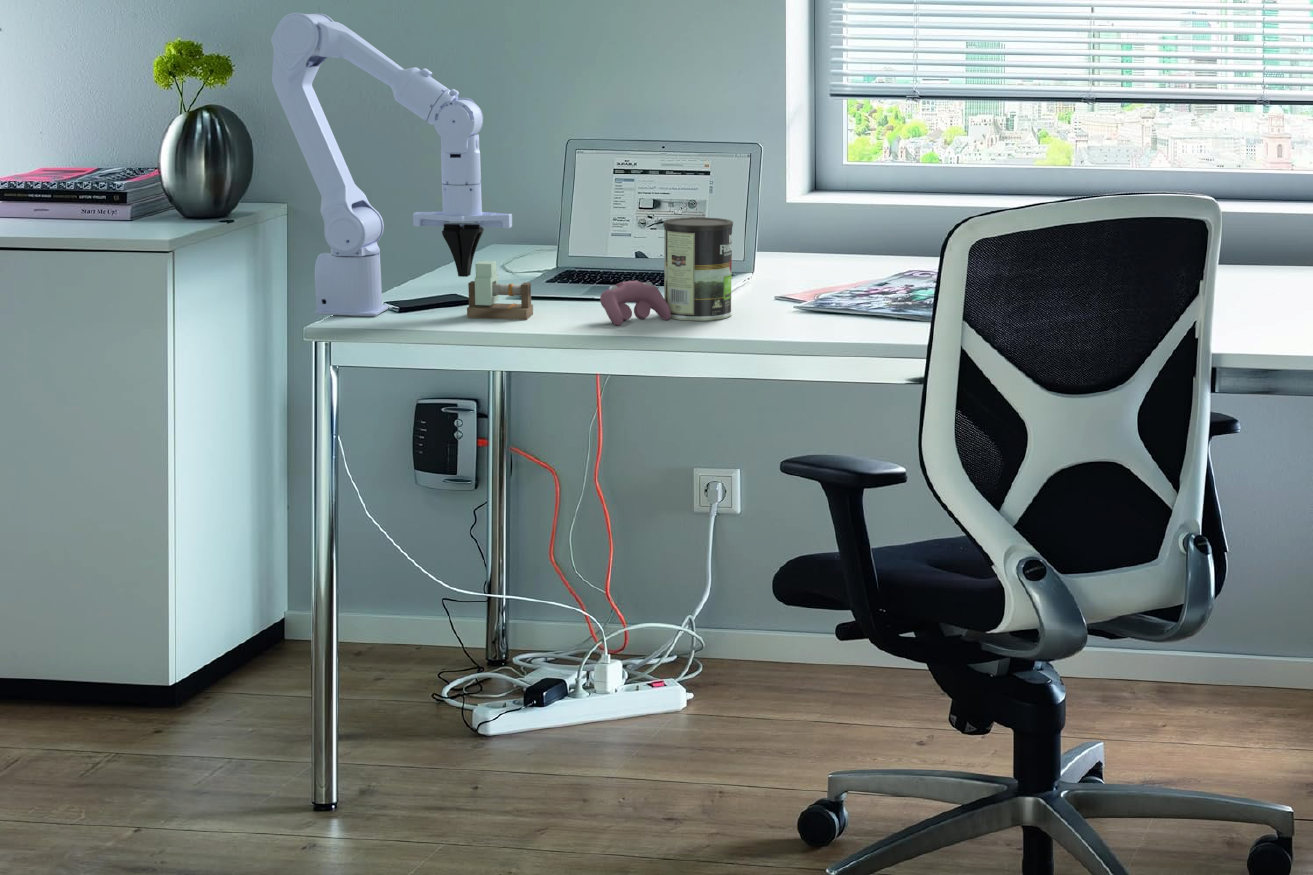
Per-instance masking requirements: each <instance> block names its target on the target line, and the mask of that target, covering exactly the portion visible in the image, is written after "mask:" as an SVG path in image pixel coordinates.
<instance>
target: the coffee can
mask: <svg viewBox="0 0 1313 875" xmlns="http://www.w3.org/2000/svg"><path fill="white" fill-rule="evenodd" d="M662 224H663V225H662V226H663V227H664V228H663V229H664V237H663V238H664V240H663V241H664V243H663V245H664V248H663V250H664V254H663V258H664V266H663V267H664V273H663V275H664V277H663V279H664V284H663V285H664V287H663V289H664V291H663V292H664V297H663V298H664V299H665V301H666V302H667V304H668V305H669V307H670V310H671V317H670V319H672V320H677V321H686V322H687V321H688V322H689V321H690V322H709V321H710V322H711V321H719V320H725V319H729V318H730V317H732V314H733V313H732V269H733V268H732V264H733V263H732V261H733V260H732V259H733V258H732V257H733V255H732V254H733V253H732V252H733V227H734V221H733V220H731V219H726V218H721V217H720V218H718V217H702V216H701V217H699V216H698V217H695V216H694V217H679V218H677V217H676V218H670V219H666V220H663V222H662Z"/></svg>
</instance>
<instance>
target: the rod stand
mask: <svg viewBox="0 0 1313 875" xmlns="http://www.w3.org/2000/svg"><path fill="white" fill-rule="evenodd" d="M467 285H468V307H466V318H467V319H487V320H489V319H491V320H492V319H493V320H521V321H522V320H523V321H524V320H526V321H527V320H528V319H529V318H530V317H532V316H533V315H534V304H533V303H532V283H531V282H527V281H526V282H523V283H522V284H514V283H508V284H507V283H506V284H502V283H498V284H492V291H493V295H498V296H509V297H514V296H520V297H521V298H520V299H521V303H497V302H495V303H494V304H492V305H475V280H471V281H470V282H468V284H467Z"/></svg>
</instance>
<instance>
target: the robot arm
mask: <svg viewBox="0 0 1313 875" xmlns="http://www.w3.org/2000/svg"><path fill="white" fill-rule="evenodd" d="M270 41H271V44H272V45H271V46H272V47H273V48H272V49H273V52H272V53H273V54H272V55H273V56H272V72H271V73H272V74H271V84H272V86H273V89H274V91H275V94H276V95H277V98H278V101H279V103H280V105H281V107H282V110H283V112H284V114H285V116H286V119H287V121H288V123H289V126H290V128H291V131H292V132H293V133H292V134H293V135H294V136H295V140H296V141H297V144H298V146H299V149H300V151H301V153H302V155H303V157H304V160H305V162H306V164H307V165H306V166H308V169H309V171H310V174H311V176H312V179H313V180H314V182H315V183H314V184H316V187H317V190H318V192H319V194H320V196H321V197H320V198H321V201H320V208H319V209H320V210H319V211H320V214H321V217H322V219H323V223H324V224H323V225H324V230H323V231H324V232H323V233H324V238H325V241H326V244H328V246H329V247H330V252H321V253H319V254H318V255H317V258H316V260H315V265H314V285H315V286H314V287H315V291H314V292H315V305H316V306H315V307H316V310H315V311H314V314H315V315H323V316H324V315H325V316H327V315H328V316H331V315H332V316H355V317H357V316H359V317H364V316H365V317H376V316H378V315H380V314H381V313H383V312H385V311H387V310H388V305H387V304H388V303H383V295H382V294H383V293H382V292H383V290H382V273H381V272H382V269H381V267H382V266H381V249H380V247H379V245H378V242H379V241H380V239H381V238H382V237H383V234H384V230H385V223H384V219H383V217H382V215H381V213H380V212H379V211H378V210H376V209H375V208H374V207H373V205H372V204H371V203H370V202H369V200H368V198H367V196H366V194H365V193H364V191H363V190H361V188H359V187H358V186H357V185H356V184H355V181H354V179H353V176H352V174H351V172H350V170H349V167H348V165H347V164H346V161H345V160H346V159H344V158H345V157H344V156H343V154H342V151H341V149H340V147H339V145H338V142H337V140H336V138H335V136H334V133H333V131H332V129H331V128H332V127H331V126H330V124H329V121H328V119H327V117H326V114H325V112H324V109H323V107H322V105H321V102H320V101H319V98H318V96H317V94H316V91H315V89H314V87H313V82H314V79H315V77H316V75H317V74H318V71H319V69H320V67H321V65H322V64H323V63H324V62H325V61H326V59H328V58H335V59H336V58H337V59H345V60H346V61H348V62H349V63H350V64H353V65H354V66H356V67H358V68H359V69H361V70H363V72H365V73H367V74H369V75H371V76H372V77H374V79H377V80H378V81H380V82H382V83H384V84H385V85H387V86H388V87H390V88H391V91H392V94H393V98H394V101H395V102H397V103H398V104H399V105H401V106H403V107H404V108H406V109H407V110H409V111H410V112H412V113H413V114H414V115H416V116H418V117H419V118H420V119H422V120H423V121H425V122H426V123H428V124H429V125H432V126H434V130H435V131H436V133H437V134H438V136H439V137H440V149H441V150H440V166H441V167H440V168H441V170H440V171H441V172H440V173H441V194H442V196H441V199H442V203H441V204H442V211H416V212H413V213H412V220H413V221H412V224H413V225H412V226H413V227H417V228H419V227H443V230H442V231H441V234H442V237H443V239H444V240H445V243H446V244H447V246H448V248H449V250H450V252H451V254H452V257H453V260H454V264H455V267H456V272H457V277H459V278H460V277H461V278H465V277H466V278H467V277H469V276H471V274H472V265H473V261H474V256H475V253H476V250H477V248H478V244H479V241H480V239H481V237H482V235H483V233H484V229H485V228H502V229H510V228H511V229H512V227H513V213H500V212H487V211H483V205H482V204H483V203H482V200H483V199H482V174H481V172H482V169H481V166H482V165H481V151H480V134H479V132H480V131H481V130H482V127H483V125H484V114H483V112H482V109H481V107H479V105H478V104H476V103H475V101H474V100H473V99H472V98H469V97H459V94H460V92H459V91H458V90H456V89H455V88H451V89H449V88H448V87H446V86H445V85H444V84H442V83H440V82H439V81H437V80H436V79H435V78H433V77H432V75H433V72H432V71H430V70H429V69H428V68H422V69H420V68H419V67H416V66H415V67H410V68H403V67H402V66H401V65H399V64H397V63H396V62H395V61H394V60H392V59H391V58H389V57H388V56H387V55H385V54H384V53H383V52H382V51H380V50H379V49H378V48H376V47H375V46H374V45H372V44H371V43H369V42H368V41H367V40H365V39H364V38H363V37H362V36H360V35H358V33H356V32H354V31H353V30H351V29H350V28H348V26H347V25H344V24H342V23H341V22H338V21H334V20H333V19H332V18H331V17H330V16H329V15H327V14H326V13H325V14H324V13H322V12H321V13H319V12H313V13H301V12H291V13H288V14H286V15H284V16H282V18H281V19H280V20H279V22H278V23H277V25H276V28H275V30H274V32H273V34H272V35H271V38H270Z"/></svg>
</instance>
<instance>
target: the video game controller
mask: <svg viewBox="0 0 1313 875" xmlns="http://www.w3.org/2000/svg"><path fill="white" fill-rule="evenodd" d="M660 291H661V290H660V289H659V288H658V287H657V286H654V284H653V283H652V281H647V282H642V281H639V280H628V281H622V282H621V281H620V282H619V283H616V284H613V285H610V286H609V287H608V288H606V289H605V290H604V291H603V292H602V293H601V294H600V298H599V301H600V305H601V307H603V309H604V310H605V312H606V315H607V317H608V318H609V320H610V321H611V323H613V325H615V326H616V327H621V326H622V325H623V322H626V321H628V320H630V319H631V318H632V316H633V313H634V316H635V317H636V318H637V320H645V319H647V318H649V316H650V314H651V310H653V311H654V312H655V313H656V314H657V315H658V316H659V317H660V318H661V319H663V320H665V321H669V320H670V319H671V318H670V317H671V310H670V307H669V305H668V304H667V302H666V301H665V299H664V297H663V294H662V293H661V292H660ZM631 302H634V303H635V305H634V308H633V312H632V308H631V307H630V306H629V304H627V303H631Z"/></svg>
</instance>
